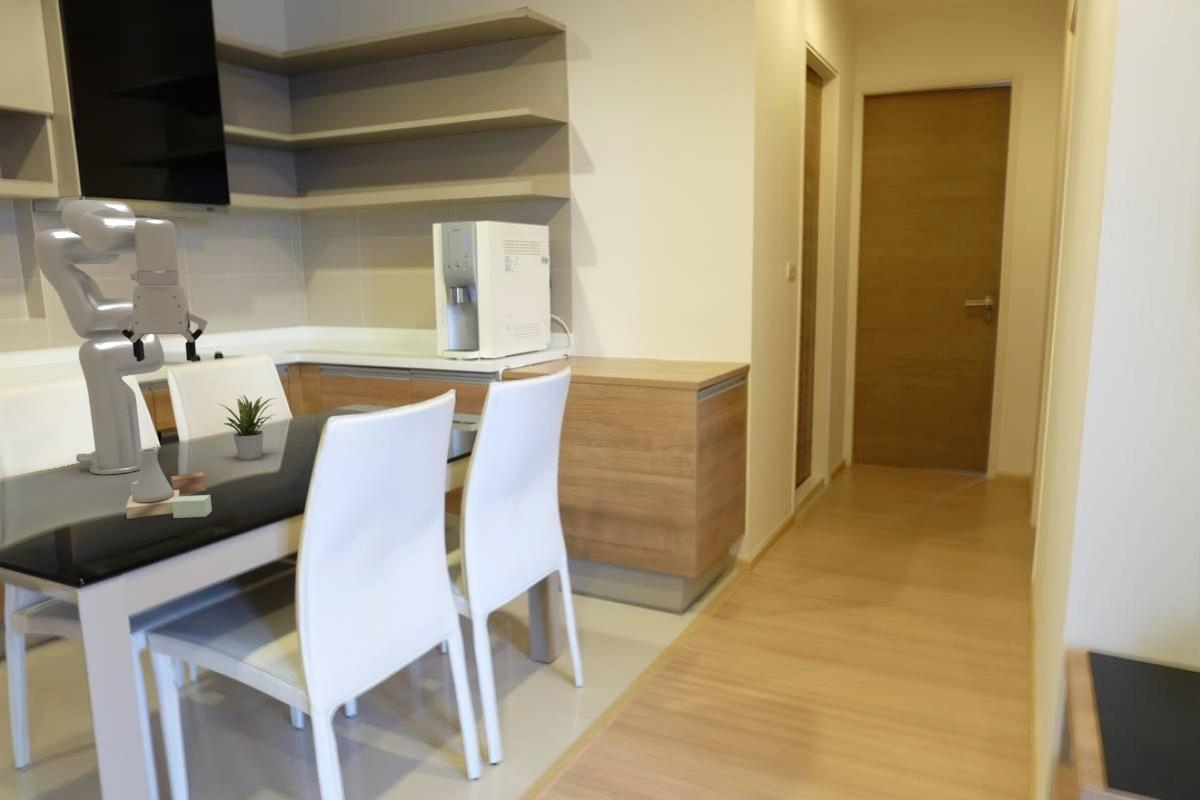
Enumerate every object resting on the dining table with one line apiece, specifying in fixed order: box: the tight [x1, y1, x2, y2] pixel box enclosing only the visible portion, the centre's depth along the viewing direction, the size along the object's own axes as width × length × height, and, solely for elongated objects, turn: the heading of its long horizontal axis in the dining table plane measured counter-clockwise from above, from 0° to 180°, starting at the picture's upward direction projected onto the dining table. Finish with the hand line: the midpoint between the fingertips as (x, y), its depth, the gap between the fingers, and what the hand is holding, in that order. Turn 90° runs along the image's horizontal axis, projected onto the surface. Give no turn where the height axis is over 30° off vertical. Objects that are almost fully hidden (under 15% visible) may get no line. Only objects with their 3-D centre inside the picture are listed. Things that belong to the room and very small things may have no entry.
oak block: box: [125, 490, 181, 520], centre depth 162 cm, size 9×9×3 cm
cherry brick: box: [170, 471, 207, 495], centre depth 175 cm, size 6×4×4 cm, turn 126°
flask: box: [132, 448, 175, 502], centre depth 161 cm, size 7×7×10 cm
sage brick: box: [172, 494, 213, 519], centre depth 159 cm, size 6×4×4 cm, turn 98°
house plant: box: [216, 394, 278, 461], centre depth 202 cm, size 14×14×16 cm
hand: (165, 360), depth 171 cm, fingers open, 9 cm apart
